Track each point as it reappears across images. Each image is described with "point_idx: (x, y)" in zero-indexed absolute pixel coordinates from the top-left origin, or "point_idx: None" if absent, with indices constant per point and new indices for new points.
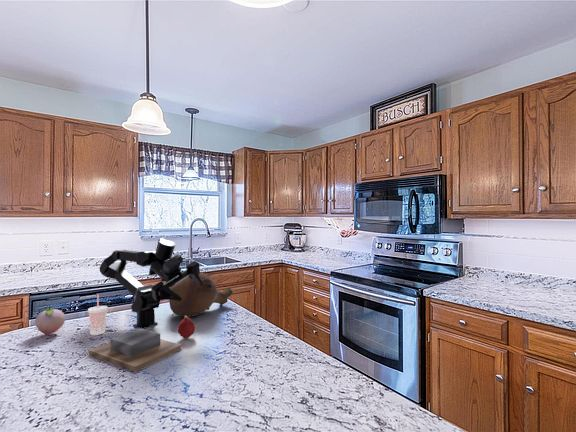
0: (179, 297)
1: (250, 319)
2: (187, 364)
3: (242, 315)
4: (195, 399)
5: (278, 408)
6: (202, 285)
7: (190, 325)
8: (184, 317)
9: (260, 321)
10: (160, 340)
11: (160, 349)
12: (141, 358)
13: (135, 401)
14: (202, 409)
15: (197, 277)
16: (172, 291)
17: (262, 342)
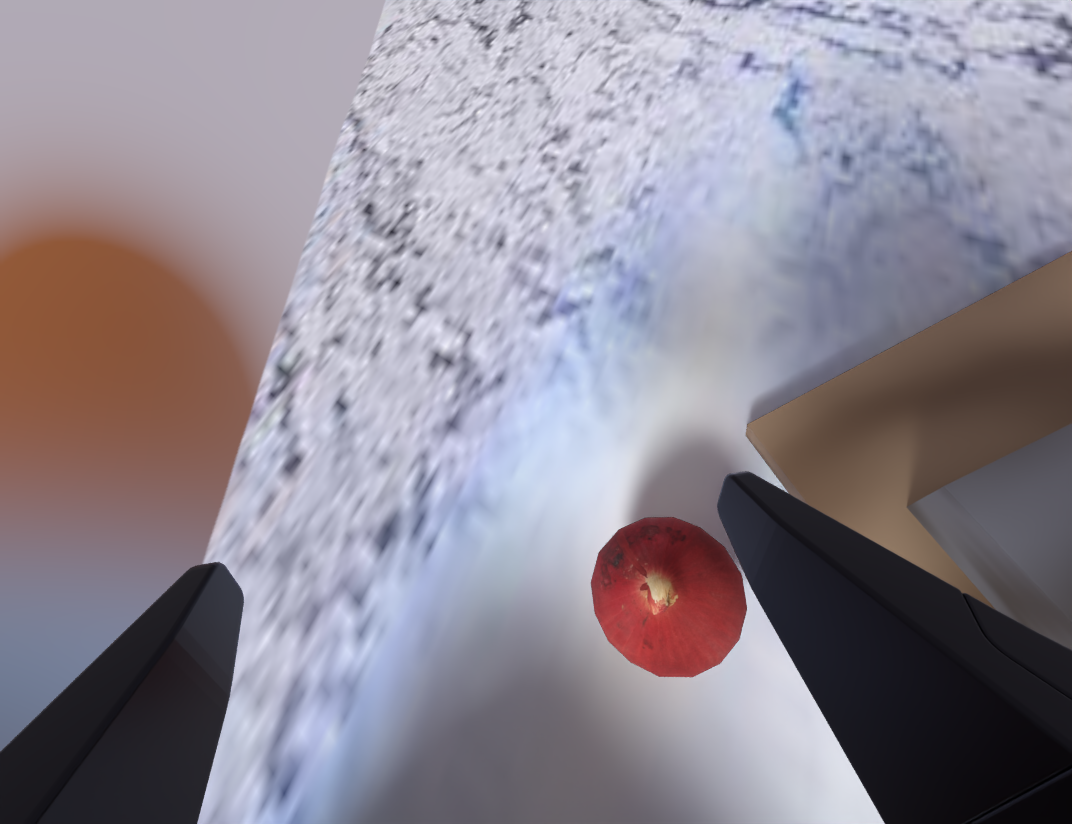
0: (766, 486)
1: None
2: (747, 256)
3: None
4: (771, 46)
5: (581, 3)
6: (237, 587)
7: (641, 523)
8: (673, 600)
9: None
10: None
11: (906, 416)
12: (1058, 336)
13: (1016, 55)
14: (762, 8)
15: (12, 804)
16: (980, 658)
17: (381, 328)
